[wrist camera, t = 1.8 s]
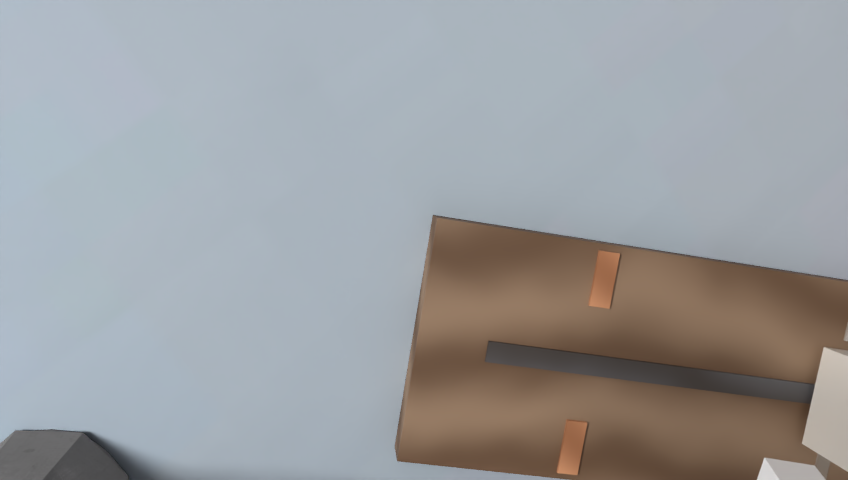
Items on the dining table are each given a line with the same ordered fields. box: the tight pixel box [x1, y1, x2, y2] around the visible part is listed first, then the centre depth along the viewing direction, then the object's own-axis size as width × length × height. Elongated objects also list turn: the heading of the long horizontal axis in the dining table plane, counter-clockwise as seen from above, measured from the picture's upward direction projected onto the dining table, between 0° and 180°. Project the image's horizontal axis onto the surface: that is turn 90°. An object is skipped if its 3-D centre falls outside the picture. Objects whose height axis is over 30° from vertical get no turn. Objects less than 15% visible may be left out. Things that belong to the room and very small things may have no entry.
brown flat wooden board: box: [395, 215, 848, 480], centre depth 39 cm, size 14×32×2 cm, turn 81°
